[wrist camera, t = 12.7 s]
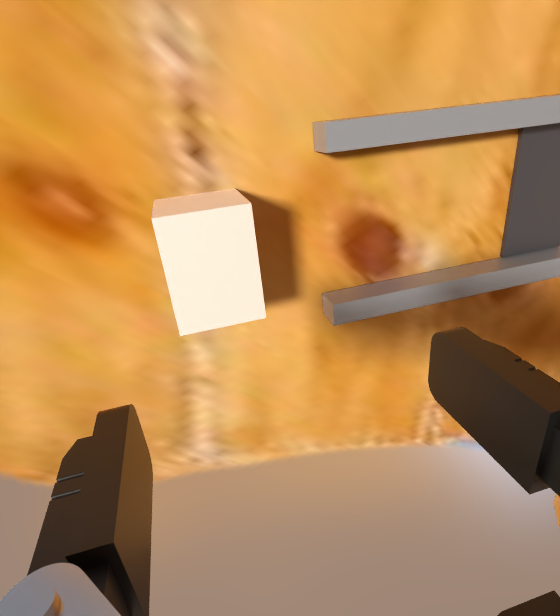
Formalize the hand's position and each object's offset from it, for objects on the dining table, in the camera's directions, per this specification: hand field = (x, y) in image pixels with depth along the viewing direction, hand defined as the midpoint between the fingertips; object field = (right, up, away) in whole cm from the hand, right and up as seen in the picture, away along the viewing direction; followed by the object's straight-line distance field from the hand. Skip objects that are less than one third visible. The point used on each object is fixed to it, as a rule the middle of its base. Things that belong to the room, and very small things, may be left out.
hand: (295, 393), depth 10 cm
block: (-5, +6, +13) cm, 15 cm away
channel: (+12, +9, +16) cm, 22 cm away
